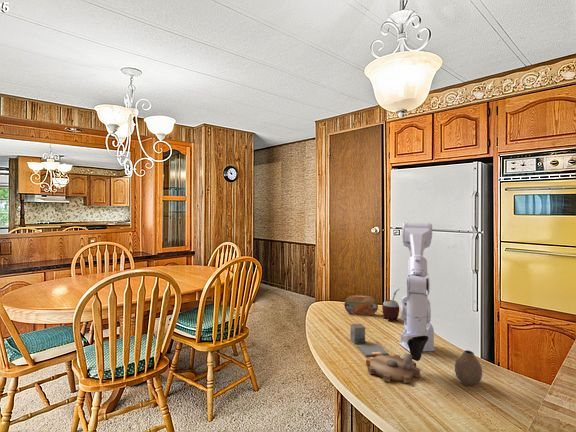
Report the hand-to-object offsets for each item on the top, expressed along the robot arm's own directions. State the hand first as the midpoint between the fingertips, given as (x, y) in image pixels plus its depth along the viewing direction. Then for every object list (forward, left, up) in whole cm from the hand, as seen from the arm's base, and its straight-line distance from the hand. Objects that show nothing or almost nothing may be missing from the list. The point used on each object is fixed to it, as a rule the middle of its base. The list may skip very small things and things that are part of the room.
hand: (415, 359), depth 102 cm
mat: (+7, -15, -3) cm, 17 cm away
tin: (-5, -53, -4) cm, 54 cm away
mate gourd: (-15, -43, -4) cm, 46 cm away
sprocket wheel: (+7, -1, -3) cm, 8 cm away
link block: (+9, -23, -3) cm, 25 cm away
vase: (-11, +9, -4) cm, 15 cm away
